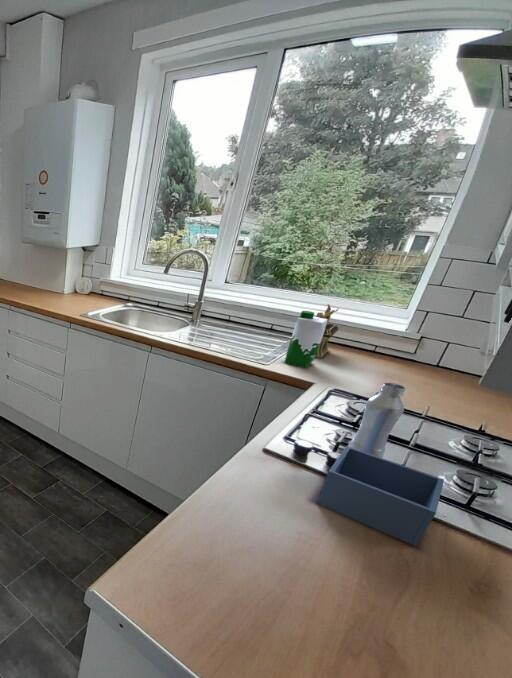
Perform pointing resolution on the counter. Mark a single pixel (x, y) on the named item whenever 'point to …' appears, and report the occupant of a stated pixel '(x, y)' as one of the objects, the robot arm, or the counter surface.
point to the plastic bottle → (379, 420)
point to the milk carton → (305, 339)
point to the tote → (382, 494)
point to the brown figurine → (326, 331)
